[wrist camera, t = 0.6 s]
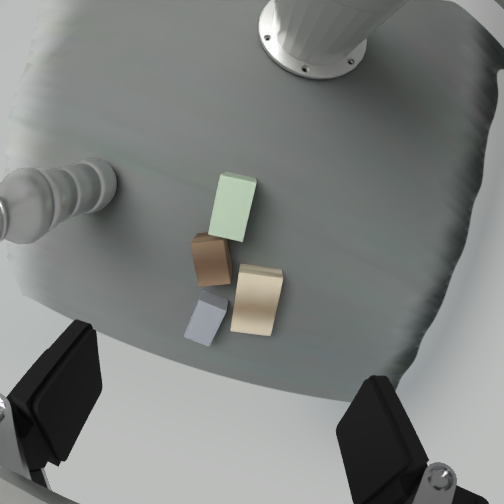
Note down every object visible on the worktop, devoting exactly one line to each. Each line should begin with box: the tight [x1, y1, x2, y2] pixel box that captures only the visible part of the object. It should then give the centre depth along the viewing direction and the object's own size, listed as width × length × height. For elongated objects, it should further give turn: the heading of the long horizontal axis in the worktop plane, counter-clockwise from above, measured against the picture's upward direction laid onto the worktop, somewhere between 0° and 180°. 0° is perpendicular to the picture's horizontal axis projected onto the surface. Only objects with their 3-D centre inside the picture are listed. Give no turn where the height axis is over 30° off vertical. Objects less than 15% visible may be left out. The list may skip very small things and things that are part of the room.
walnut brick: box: [191, 232, 233, 287], centre depth 33 cm, size 5×4×4 cm
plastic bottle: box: [0, 158, 117, 244], centre depth 22 cm, size 6×7×20 cm
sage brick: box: [208, 172, 257, 242], centre depth 31 cm, size 6×4×5 cm, turn 167°
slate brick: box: [184, 290, 228, 347], centre depth 36 cm, size 6×4×3 cm, turn 156°
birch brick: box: [231, 263, 283, 336], centre depth 36 cm, size 8×5×3 cm, turn 171°
